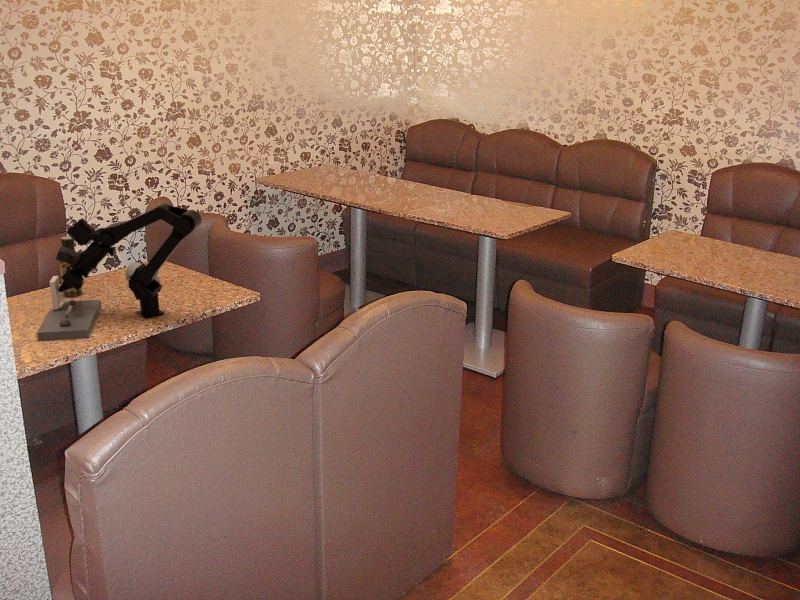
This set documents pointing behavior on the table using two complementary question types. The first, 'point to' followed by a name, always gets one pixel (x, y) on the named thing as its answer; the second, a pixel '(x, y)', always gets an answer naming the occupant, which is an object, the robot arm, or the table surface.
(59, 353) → the table surface
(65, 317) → the steel toggle lever
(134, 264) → the ceramic mug
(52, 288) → the ivory paddle
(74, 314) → the switch panel
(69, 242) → the sauce bottle
